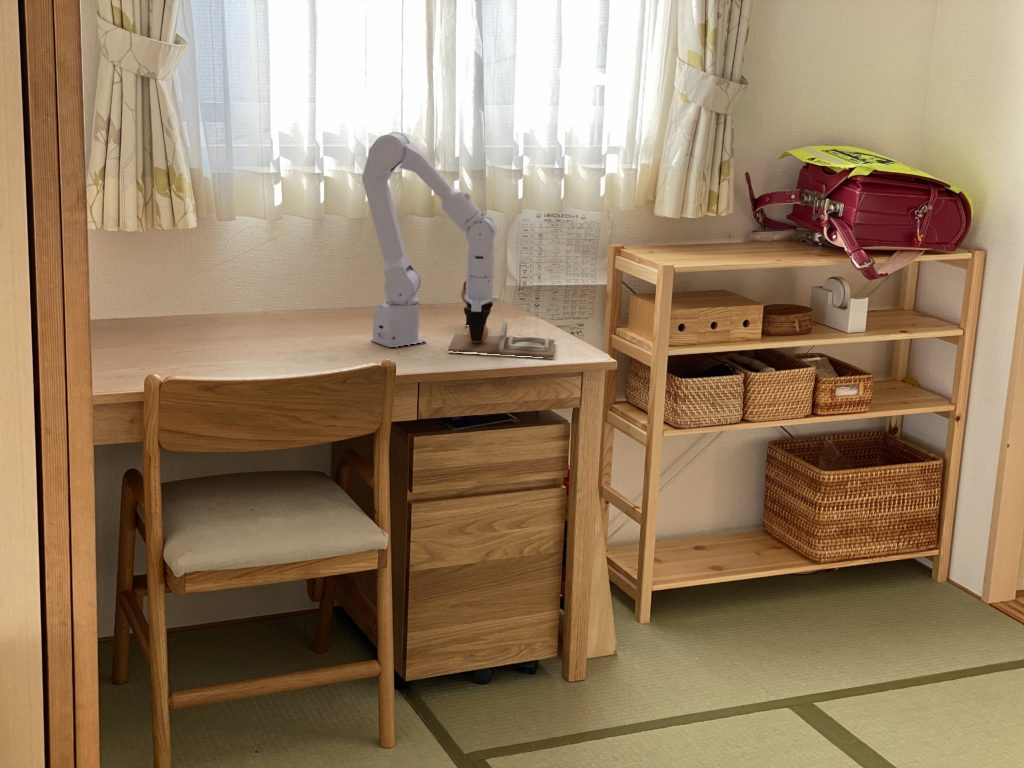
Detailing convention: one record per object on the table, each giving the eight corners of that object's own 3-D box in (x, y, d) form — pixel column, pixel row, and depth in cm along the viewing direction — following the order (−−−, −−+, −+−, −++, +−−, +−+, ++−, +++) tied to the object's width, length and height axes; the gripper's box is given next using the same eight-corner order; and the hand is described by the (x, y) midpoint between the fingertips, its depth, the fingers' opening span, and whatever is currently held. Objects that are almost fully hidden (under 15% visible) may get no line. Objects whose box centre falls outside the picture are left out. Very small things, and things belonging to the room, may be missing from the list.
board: (448, 353, 251) (448, 332, 249) (454, 338, 264) (455, 318, 263) (553, 359, 250) (554, 338, 249) (554, 343, 263) (555, 323, 262)
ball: (475, 346, 254) (476, 324, 253) (462, 341, 257) (462, 320, 256) (492, 343, 257) (493, 322, 256) (478, 339, 260) (479, 318, 259)
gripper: (496, 282, 246) (493, 347, 250) (500, 270, 260) (498, 331, 264) (462, 280, 246) (460, 345, 250) (468, 268, 260) (466, 329, 264)
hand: (477, 338), depth 257 cm, fingers closed on ball, 5 cm apart
